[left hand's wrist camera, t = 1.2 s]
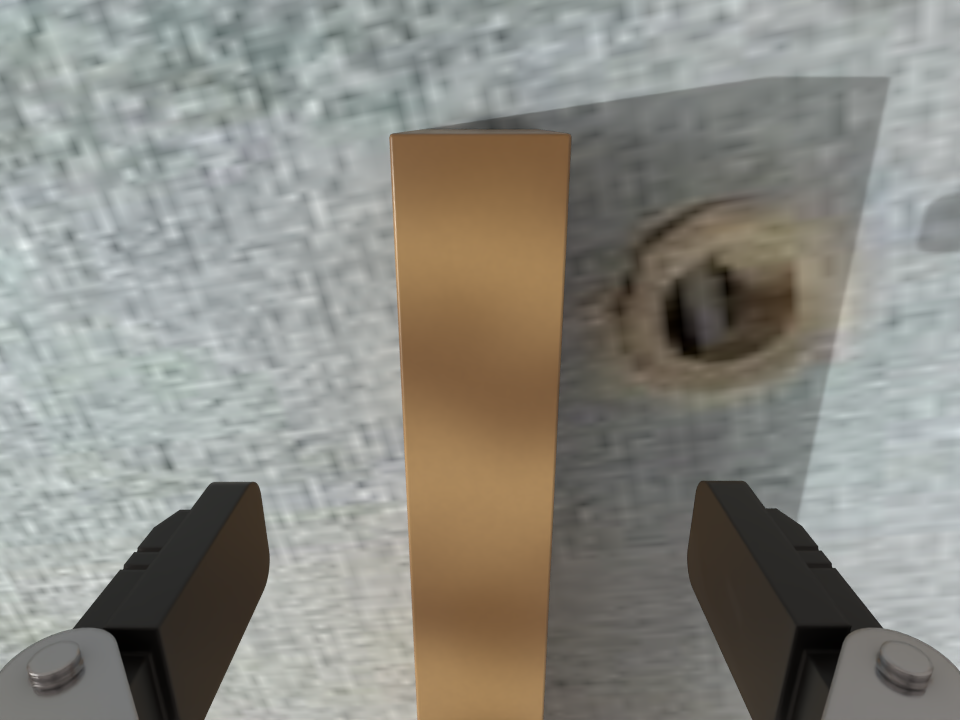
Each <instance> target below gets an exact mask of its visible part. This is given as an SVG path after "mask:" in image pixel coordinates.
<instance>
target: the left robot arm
mask: <svg viewBox="0 0 960 720" xmlns="http://www.w3.org/2000/svg"><path fill="white" fill-rule="evenodd" d="M269 563H270V556H269V547H268V540H267V533H266V526H265V519H264V512H263V505H262V498H261V492H260V488H259V486H258V484H257V483H256V482H212V483H211V484H210V485H209V486H208V487H207V488H206V490H205V491H204V492H203V494H202V495H201V496H200V498H199V499H198V500H197V502H196V503H195V504H194V506H193V507H192V509H191V510H179V511H177V512H176V513H175V514H173V515H172V516H170V517H169V518H167V519H166V520H164V521H163V522H161V523H160V524H158V525H157V526H155V527H154V528H153V529H152V531H151V532H150V533H149V534H148V536H147V537H146V538H145V539H144V541H143V542H142V543H141V544H140V546H139V547H138V551H137V552H134V553H133V554H132V556H131V557H130V558H129V559H128V561H127V562H126V563H125V564H124V569H123V570H120V571H119V572H118V573H117V574H116V576H115V577H114V578H113V579H112V581H111V582H110V583H109V584H108V585H107V587H106V588H105V589H104V590H103V592H102V593H101V594H100V595H99V597H98V598H97V599H96V600H95V602H94V603H93V604H92V605H91V607H90V608H89V609H88V610H87V612H86V613H85V614H84V615H83V617H82V618H81V619H80V620H79V622H78V623H77V624H76V625H75V627H74V628H73V629H71V630H67V631H63V632H59V633H57V634H54V635H51V636H49V637H46V638H44V639H42V640H40V641H38V642H36V643H34V644H32V645H31V646H29V647H28V648H26V649H24V650H23V651H21V652H20V653H19V654H18V655H16V656H15V657H14V658H12V659H11V660H10V661H9V662H8V663H7V664H6V665H5V666H4V667H3V669H2V670H1V671H0V720H204V719H205V717H206V715H207V712H208V710H209V708H210V706H211V704H212V702H213V699H214V697H215V695H216V693H217V691H218V689H219V686H220V684H221V682H222V680H223V678H224V676H225V673H226V671H227V669H228V667H229V665H230V663H231V660H232V658H233V656H234V654H235V652H236V650H237V647H238V645H239V643H240V641H241V639H242V636H243V634H244V632H245V630H246V628H247V626H248V623H249V621H250V619H251V617H252V615H253V613H254V610H255V608H256V606H257V604H258V602H259V600H260V597H261V595H262V593H263V591H264V589H265V586H266V583H267V579H268V573H269ZM687 564H688V573H689V578H690V582H691V585H692V588H693V590H694V592H695V595H696V597H697V599H698V601H699V603H700V605H701V608H702V610H703V612H704V614H705V616H706V619H707V621H708V623H709V625H710V627H711V630H712V632H713V634H714V636H715V638H716V641H717V643H718V645H719V647H720V649H721V652H722V654H723V656H724V658H725V660H726V663H727V665H728V667H729V669H730V671H731V674H732V676H733V678H734V680H735V682H736V685H737V687H738V689H739V691H740V693H741V696H742V698H743V700H744V702H745V704H746V707H747V709H748V711H749V713H750V715H751V717H752V720H960V671H959V670H958V669H957V667H956V666H955V665H954V664H953V663H952V662H951V661H950V660H949V659H948V658H946V657H945V656H944V655H942V654H941V653H940V652H939V651H937V650H936V649H934V648H932V647H931V646H929V645H928V644H926V643H924V642H922V641H920V640H918V639H916V638H914V637H911V636H909V635H906V634H903V633H901V632H897V631H893V630H889V629H883V627H882V626H881V625H880V624H879V622H878V621H877V620H876V619H875V617H874V616H873V615H872V614H871V612H870V611H869V610H868V609H867V607H866V606H865V605H864V604H863V602H862V601H861V600H860V599H859V597H858V596H857V595H856V593H855V592H854V591H853V590H852V588H851V587H850V586H849V585H848V583H847V582H846V581H845V580H844V578H843V577H842V576H841V575H840V573H839V572H838V571H837V570H836V568H832V563H831V562H830V561H829V560H828V558H827V557H826V556H825V554H824V553H823V552H822V551H819V550H818V546H817V544H816V543H815V542H814V541H813V539H812V538H811V537H810V536H809V534H808V533H807V532H806V531H805V529H804V528H803V527H802V526H801V525H800V524H798V523H797V522H795V521H794V520H792V519H791V518H789V517H788V516H786V515H785V514H784V513H782V512H781V511H779V510H778V509H765V507H764V506H763V504H762V503H761V502H760V500H759V499H758V498H757V496H756V495H755V494H754V492H753V491H752V490H751V488H750V487H749V485H748V484H747V483H746V482H744V481H701V482H700V483H699V484H698V486H697V490H696V495H695V502H694V509H693V516H692V523H691V530H690V537H689V544H688V552H687Z"/></svg>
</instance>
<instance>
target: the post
mask: <svg viewBox="0 0 960 720" xmlns="http://www.w3.org/2000/svg"><path fill="white" fill-rule="evenodd" d="M389 139H390V159H391V180H392V201H393V222H394V242H395V263H396V284H397V305H398V325H399V346H400V367H401V388H402V408H403V429H404V450H405V471H406V491H407V512H408V533H409V554H410V574H411V595H412V616H413V637H414V657H415V678H416V699H417V720H543V716H544V696H545V675H546V654H547V634H548V613H549V592H550V572H551V551H552V530H553V510H554V489H555V468H556V448H557V427H558V406H559V386H560V365H561V344H562V324H563V303H564V282H565V261H566V241H567V220H568V199H569V179H570V158H571V135H570V134H568V133H561V132H553V131H546V130H539V129H422V130H414V131H407V132H400V133H393V134H391V135H390V137H389Z"/></svg>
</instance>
